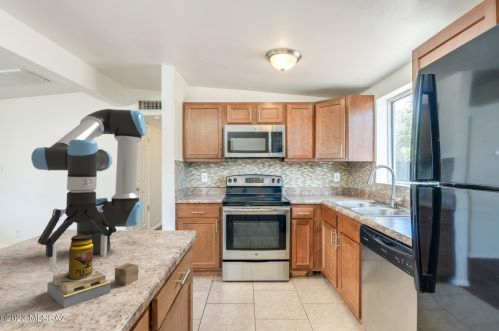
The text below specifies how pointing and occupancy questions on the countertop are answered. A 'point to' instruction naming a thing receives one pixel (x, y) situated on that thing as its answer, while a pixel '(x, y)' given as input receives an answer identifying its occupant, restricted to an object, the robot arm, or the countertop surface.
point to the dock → (77, 293)
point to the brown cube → (126, 274)
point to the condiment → (80, 259)
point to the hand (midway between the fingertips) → (79, 261)
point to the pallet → (78, 282)
